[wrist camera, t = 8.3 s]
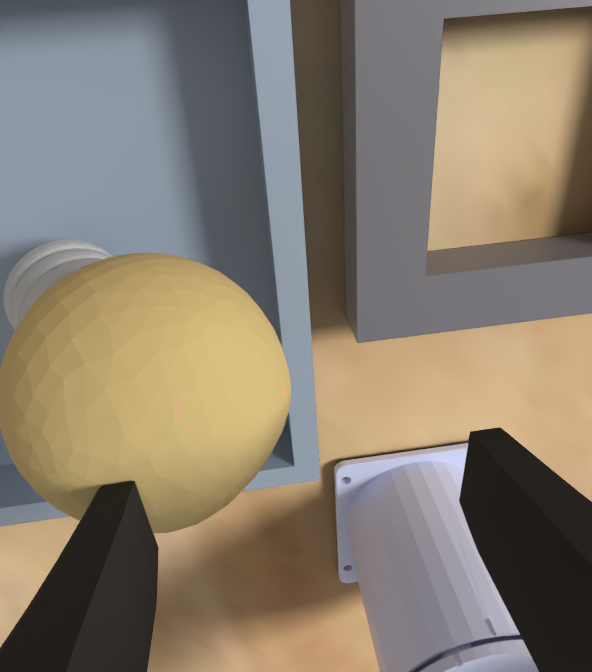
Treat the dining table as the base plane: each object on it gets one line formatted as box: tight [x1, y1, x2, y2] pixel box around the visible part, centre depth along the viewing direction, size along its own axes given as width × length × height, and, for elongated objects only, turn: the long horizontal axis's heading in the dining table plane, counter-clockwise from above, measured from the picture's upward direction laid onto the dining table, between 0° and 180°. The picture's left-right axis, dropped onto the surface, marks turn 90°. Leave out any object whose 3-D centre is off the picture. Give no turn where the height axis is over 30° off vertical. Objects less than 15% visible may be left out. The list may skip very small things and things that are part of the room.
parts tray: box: [0, 0, 320, 526], centre depth 17 cm, size 18×16×3 cm
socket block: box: [340, 0, 592, 343], centre depth 17 cm, size 12×12×2 cm
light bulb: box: [0, 239, 291, 533], centre depth 14 cm, size 6×6×10 cm
